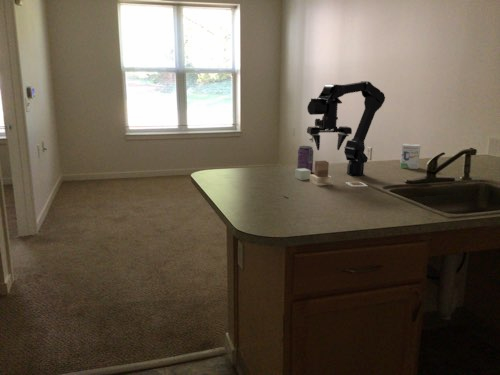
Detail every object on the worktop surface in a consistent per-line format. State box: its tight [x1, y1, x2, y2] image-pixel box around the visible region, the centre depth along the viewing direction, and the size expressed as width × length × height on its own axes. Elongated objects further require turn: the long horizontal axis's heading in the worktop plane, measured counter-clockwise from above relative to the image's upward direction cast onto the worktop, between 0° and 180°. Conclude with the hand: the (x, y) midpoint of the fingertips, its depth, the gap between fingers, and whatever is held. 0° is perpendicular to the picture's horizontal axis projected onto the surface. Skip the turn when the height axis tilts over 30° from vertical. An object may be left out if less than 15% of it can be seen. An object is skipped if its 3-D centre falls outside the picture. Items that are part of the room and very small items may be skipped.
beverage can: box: [296, 145, 314, 172], centre depth 209 cm, size 7×7×12 cm
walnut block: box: [313, 160, 330, 177], centre depth 188 cm, size 4×4×6 cm
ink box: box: [399, 143, 421, 170], centre depth 223 cm, size 9×5×12 cm, turn 73°
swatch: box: [345, 181, 369, 188], centre depth 187 cm, size 7×7×1 cm
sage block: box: [294, 168, 311, 181], centre depth 197 cm, size 5×5×4 cm
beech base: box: [309, 173, 333, 186], centre depth 188 cm, size 7×7×4 cm
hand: (328, 150), depth 196 cm, fingers open, 9 cm apart
